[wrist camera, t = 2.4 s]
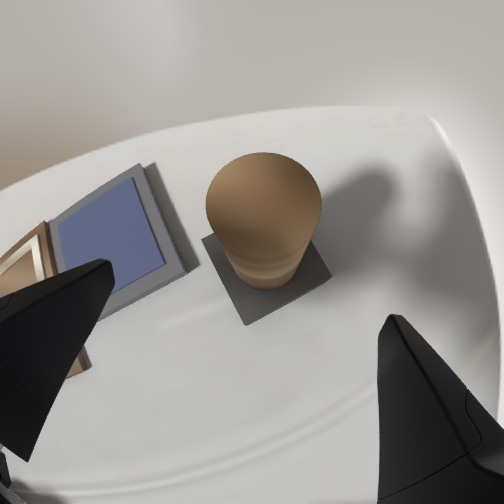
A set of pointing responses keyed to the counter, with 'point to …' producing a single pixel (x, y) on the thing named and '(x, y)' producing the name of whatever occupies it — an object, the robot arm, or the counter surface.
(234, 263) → the stamp
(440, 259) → the counter surface
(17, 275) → the marked board
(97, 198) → the ink pad
